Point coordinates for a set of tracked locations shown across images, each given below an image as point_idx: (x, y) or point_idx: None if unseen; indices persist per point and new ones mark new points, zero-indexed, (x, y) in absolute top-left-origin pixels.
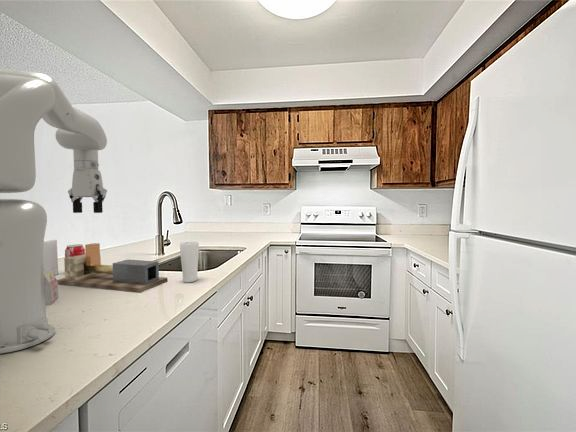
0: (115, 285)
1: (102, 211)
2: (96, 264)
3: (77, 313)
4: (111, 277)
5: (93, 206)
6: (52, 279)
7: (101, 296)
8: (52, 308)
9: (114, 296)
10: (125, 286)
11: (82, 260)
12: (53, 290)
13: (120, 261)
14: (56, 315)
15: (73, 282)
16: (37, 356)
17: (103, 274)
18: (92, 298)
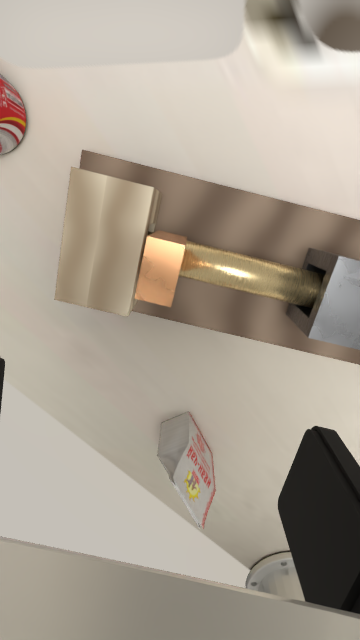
0: (313, 349)
1: (337, 434)
2: (185, 261)
3: None
4: (243, 252)
5: (297, 574)
6: (197, 472)
7: (300, 399)
8: (234, 473)
9: (336, 399)
10: (352, 358)
11: (135, 286)
12: (204, 458)
13: (325, 302)
14: (273, 504)
15: (143, 312)
16: None
17: (181, 206)
18: (284, 414)
